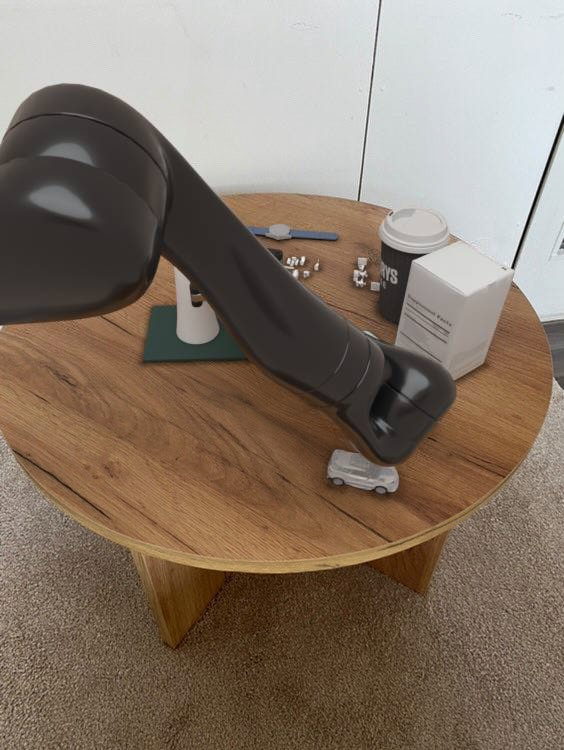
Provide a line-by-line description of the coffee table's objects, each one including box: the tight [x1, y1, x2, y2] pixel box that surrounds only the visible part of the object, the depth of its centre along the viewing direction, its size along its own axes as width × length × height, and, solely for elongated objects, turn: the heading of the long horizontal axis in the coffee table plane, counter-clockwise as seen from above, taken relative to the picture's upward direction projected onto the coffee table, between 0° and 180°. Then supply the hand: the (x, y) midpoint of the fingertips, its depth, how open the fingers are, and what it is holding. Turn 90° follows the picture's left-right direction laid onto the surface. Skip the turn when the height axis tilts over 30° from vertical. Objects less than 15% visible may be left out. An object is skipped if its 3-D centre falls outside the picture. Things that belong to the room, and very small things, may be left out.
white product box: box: [394, 239, 516, 382], centre depth 74 cm, size 9×9×15 cm
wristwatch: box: [246, 223, 339, 241], centre depth 102 cm, size 4×20×1 cm, turn 83°
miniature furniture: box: [283, 255, 380, 292], centre depth 93 cm, size 7×25×2 cm, turn 77°
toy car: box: [326, 449, 400, 495], centre depth 64 cm, size 4×8×3 cm, turn 76°
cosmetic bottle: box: [173, 266, 219, 344], centre depth 75 cm, size 6×6×22 cm
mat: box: [142, 304, 248, 363], centre depth 83 cm, size 14×12×1 cm
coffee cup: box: [377, 205, 451, 325], centre depth 82 cm, size 10×10×15 cm
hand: (197, 244), depth 70 cm, fingers closed
